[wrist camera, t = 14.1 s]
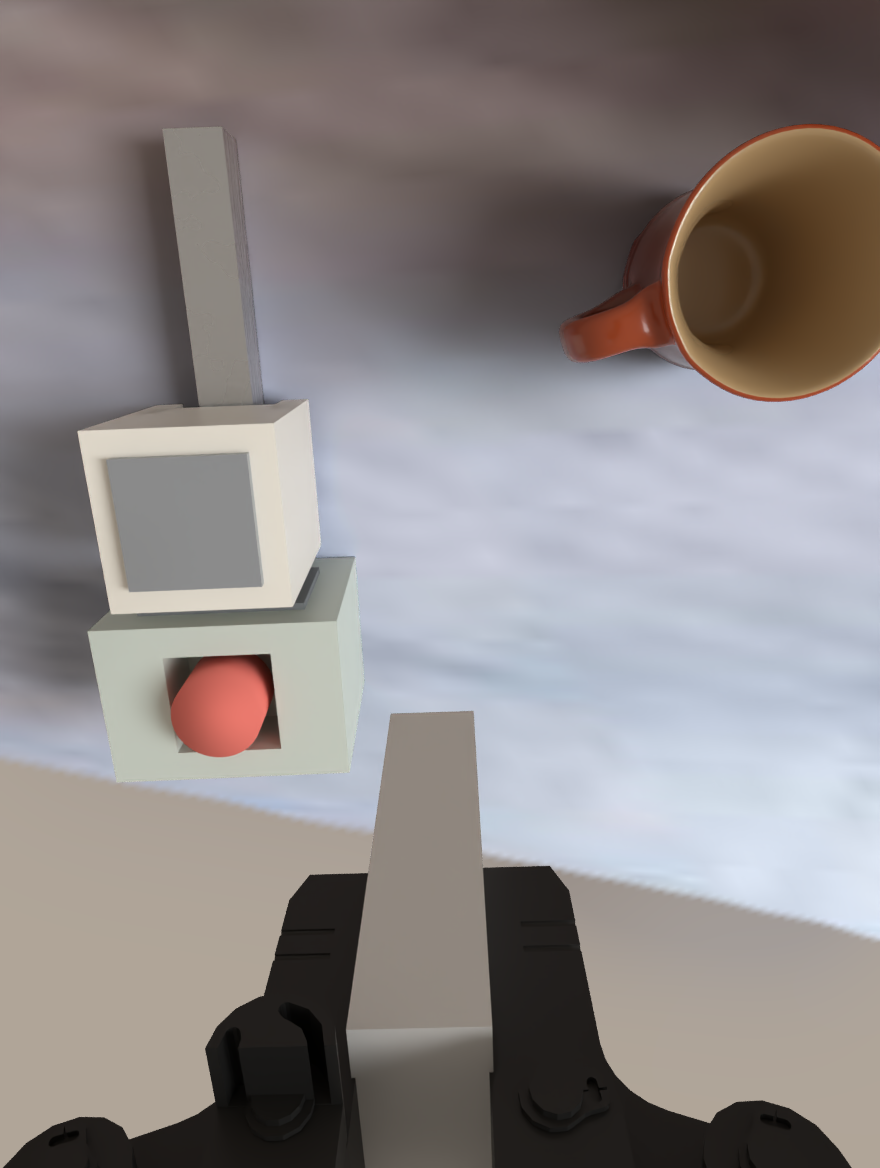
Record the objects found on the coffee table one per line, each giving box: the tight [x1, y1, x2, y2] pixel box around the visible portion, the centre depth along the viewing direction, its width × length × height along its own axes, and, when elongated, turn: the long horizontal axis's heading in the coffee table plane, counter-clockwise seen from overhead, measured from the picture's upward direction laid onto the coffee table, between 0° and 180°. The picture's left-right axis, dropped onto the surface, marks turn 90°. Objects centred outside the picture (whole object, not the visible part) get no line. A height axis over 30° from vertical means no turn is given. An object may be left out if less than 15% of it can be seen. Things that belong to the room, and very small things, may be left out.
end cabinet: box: [87, 557, 365, 782], centre depth 37 cm, size 7×10×9 cm
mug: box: [559, 124, 880, 402], centre depth 32 cm, size 12×9×10 cm
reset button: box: [171, 654, 274, 757], centre depth 33 cm, size 4×4×3 cm
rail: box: [162, 127, 264, 407], centre depth 36 cm, size 20×2×2 cm, turn 2°
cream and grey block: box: [77, 399, 321, 614], centre depth 33 cm, size 7×7×9 cm
